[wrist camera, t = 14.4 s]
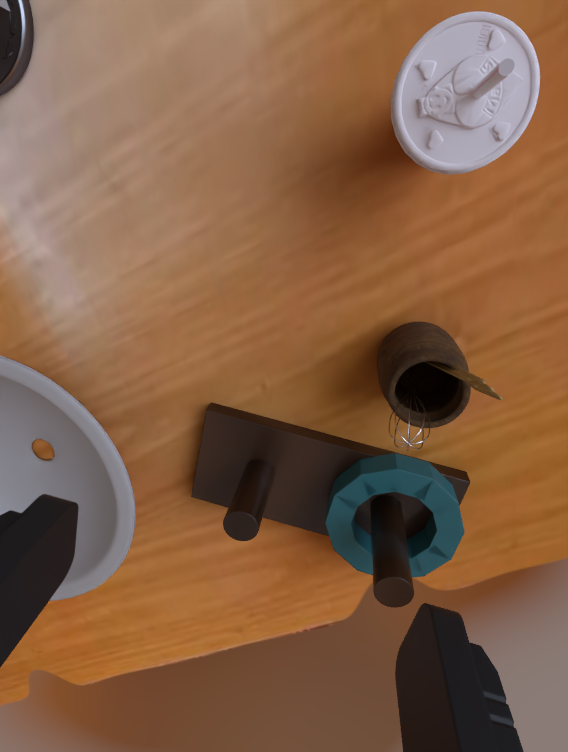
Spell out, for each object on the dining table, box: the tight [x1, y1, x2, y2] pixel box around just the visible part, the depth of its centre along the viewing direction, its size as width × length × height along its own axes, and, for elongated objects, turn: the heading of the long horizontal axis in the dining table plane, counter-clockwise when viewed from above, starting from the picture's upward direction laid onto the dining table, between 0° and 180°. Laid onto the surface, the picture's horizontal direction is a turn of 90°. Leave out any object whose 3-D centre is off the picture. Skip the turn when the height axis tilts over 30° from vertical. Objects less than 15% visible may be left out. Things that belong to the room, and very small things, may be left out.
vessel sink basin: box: [0, 356, 136, 601], centre depth 41 cm, size 24×24×7 cm
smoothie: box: [391, 11, 540, 175], centre depth 23 cm, size 6×6×14 cm
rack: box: [191, 403, 470, 607], centre depth 35 cm, size 22×9×10 cm, turn 77°
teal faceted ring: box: [325, 453, 464, 577], centre depth 37 cm, size 10×10×2 cm
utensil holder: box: [377, 322, 502, 451], centre depth 30 cm, size 6×6×12 cm
